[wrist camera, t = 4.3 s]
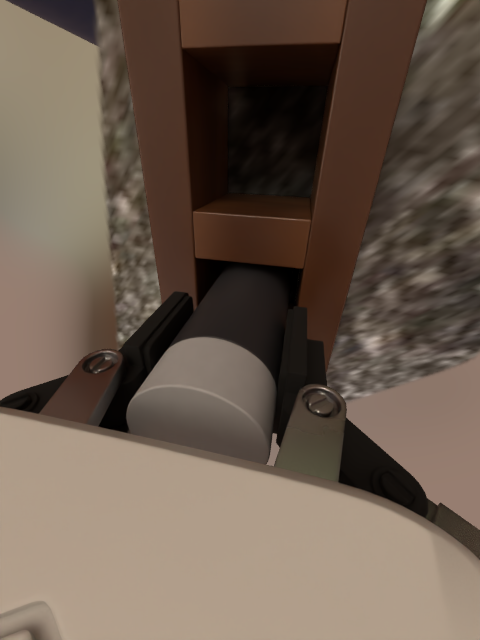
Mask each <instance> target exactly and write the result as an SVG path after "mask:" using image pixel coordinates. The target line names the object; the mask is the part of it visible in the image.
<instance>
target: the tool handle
mask: <svg viewBox="0 0 480 640" xmlns="http://www.w3.org/2000/svg"><path fill="white" fill-rule="evenodd" d="M292 274H293V268H290V267H280V266H270V265H260V264H251V263H241V262H231V261H230V262H229V263H228V264H227V266H226V267H225V269H224V270H223V271H222V273H221V274H220V276H219V277H218V278H217V280H216V281H215V283H214V284H213V285H212V287H211V288H210V290H209V291H208V292H207V294H206V295H205V297H204V298H203V299H202V301H201V302H200V304H199V305H198V306H197V308H196V309H195V311H194V312H193V314H192V315H191V316H190V318H189V319H188V321H187V322H186V323H185V325H184V326H183V328H182V329H181V330H180V332H179V333H178V335H177V336H176V337H175V339H174V340H173V342H172V343H171V344H170V346H169V347H168V349H167V350H166V351H165V353H164V354H163V356H162V357H161V358H160V360H159V361H158V363H157V364H156V366H155V367H154V368H153V370H152V371H151V373H150V374H149V375H148V377H147V378H146V380H145V381H144V382H143V384H142V385H141V387H140V388H139V389H138V391H137V392H136V394H135V395H134V396H133V398H132V399H131V401H130V402H129V405H128V408H127V413H126V419H127V424H128V427H129V430H130V432H131V434H133V435H137V436H142V437H146V438H151V439H155V440H160V441H164V442H169V443H173V444H178V445H182V446H187V447H191V448H195V449H200V450H204V451H209V452H213V453H217V454H222V455H226V456H230V457H235V458H239V459H243V460H248V461H252V462H256V463H261V464H265V465H266V464H267V462H268V459H269V456H270V450H271V442H272V434H273V426H274V418H275V410H276V397H277V389H278V381H279V374H280V366H281V358H282V351H283V343H284V335H285V328H286V321H287V314H288V306H289V298H290V290H291V282H292Z"/></svg>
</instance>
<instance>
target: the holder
mask: <svg viewBox="0 0 480 640" xmlns="http://www.w3.org/2000/svg"><path fill="white" fill-rule="evenodd" d="M117 1H118V7H119V14H120V21H121V28H122V35H123V41H124V48H125V55H126V62H127V69H128V75H129V82H130V89H131V96H132V103H133V109H134V116H135V123H136V130H137V137H138V143H139V150H140V157H141V164H142V171H143V177H144V184H145V191H146V198H147V205H148V211H149V218H150V225H151V232H152V239H153V245H154V252H155V259H156V266H157V273H158V279H159V286H160V293H161V300H162V304H163V303H164V302H165V301H166V300H167V298H168V297H169V296H170V295H171V294H172V293H173V292H174V291H178V292H186V293H188V294H189V296H191V297H192V298H193V308H194V311H195V309H196V308H197V306H198V305H199V304H200V302H201V301H202V299H203V298H204V297H205V295H206V294H207V292H208V291H209V290H210V288H211V287H212V285H213V284H214V283H215V281H216V280H217V278H218V277H219V276H220V274H221V273H222V271H223V270H224V269H225V267H226V266H227V264H228V261H231V262H241V263H251V264H260V265H270V266H280V267H290V268H300V269H299V276H298V282H297V288H296V295H295V301H294V303H289V306H288V309H293V308H294V306H298V307H306V308H307V339H310V340H317V341H323V344H324V356H325V368H326V372H327V368H328V365H329V361H330V357H331V354H332V350H333V346H334V343H335V339H336V335H337V331H338V328H339V324H340V320H341V317H342V313H343V309H344V306H345V302H346V298H347V295H348V291H349V287H350V283H351V280H352V276H353V272H354V269H355V265H356V261H357V258H358V254H359V250H360V246H361V243H362V239H363V235H364V232H365V228H366V224H367V221H368V217H369V213H370V209H371V206H372V202H373V198H374V195H375V191H376V187H377V184H378V180H379V176H380V172H381V169H382V165H383V161H384V158H385V154H386V150H387V147H388V143H389V139H390V135H391V132H392V128H393V124H394V121H395V117H396V113H397V110H398V106H399V102H400V99H401V95H402V91H403V87H404V84H405V80H406V76H407V73H408V69H409V65H410V62H411V58H412V54H413V50H414V47H415V43H416V39H417V36H418V32H419V28H420V25H421V21H422V17H423V13H424V10H425V6H426V2H427V0H117ZM327 85H328V88H327V94H326V101H325V107H324V114H323V120H322V126H321V133H320V139H319V146H318V152H317V159H316V165H315V172H314V178H313V185H312V191H311V198H308V197H291V196H275V195H258V194H241V193H228V86H229V87H243V86H327Z"/></svg>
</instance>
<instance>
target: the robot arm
mask: <svg viewBox="0 0 480 640" xmlns="http://www.w3.org/2000/svg"><path fill="white" fill-rule="evenodd" d="M193 312H194V308H193V298H192V297H191V296H189V294H188V293H186V292H178V291H174V292H173V293H172V294H171V295H170V296H169V297H168V298H167V300H166V301H165V302H164V303H163V304H162V305H161V306H160V307H159V308H158V309H157V310H156V311H155V312H154V313H153V314H152V315H151V316H150V317H149V318H148V319H147V320H146V321H145V323H144V324H143V325H142V326H141V327H140V328H139V329H138V330H137V331H136V332H135V333H134V334H133V335H132V336H131V337H130V338H129V339H128V340H127V341H126V342H125V343H124V346H123V347H122V348H121V349H120V350H119V351H117V350H114V349H102V350H98V351H95V352H92V353H90V354H88V355H87V356H85V357H84V358H83V359H82V360H81V361H79V363H78V364H77V365H76V367H75V368H74V369H73V370H72V372H71V373H70V374H69V375H67V376H64V377H61V378H58V379H55V380H52V381H49V382H46V383H43V384H40V385H37V386H33V387H30V388H27V389H24V390H21V391H18V392H16V393H13V394H11V395H9V396H7V397H5V398H3V399H2V400H0V640H480V530H478V529H477V528H476V527H474V526H473V525H472V524H470V523H469V522H467V521H466V520H464V519H463V518H462V517H460V516H459V515H457V514H456V513H454V512H453V511H452V510H450V509H449V508H447V507H446V506H445V505H443V504H442V503H439V505H438V506H437V505H436V504H434V503H433V502H432V501H430V500H429V499H427V497H426V494H425V492H424V490H423V489H422V487H421V486H420V484H419V483H418V482H417V481H416V479H415V478H414V477H413V476H412V475H411V474H410V473H409V472H407V471H406V470H405V469H404V468H403V467H402V466H401V465H400V464H398V463H397V462H396V461H395V460H394V459H393V458H392V457H390V456H389V455H388V454H387V453H386V452H385V451H384V450H382V449H381V448H380V447H379V446H378V445H377V444H376V443H374V442H373V441H372V440H371V439H370V438H368V436H366V435H365V434H364V433H363V432H362V431H361V430H360V429H358V428H357V427H356V426H355V425H354V424H353V423H351V422H350V421H349V420H348V419H347V418H346V411H347V409H346V403H345V401H344V399H343V397H342V396H341V395H340V394H339V393H338V392H337V391H335V390H334V389H332V388H330V387H327V381H326V368H325V356H324V344H323V341H317V340H310V339H307V308H306V307H298V306H294V308H293V309H288V314H287V321H286V328H285V335H284V343H283V351H282V358H281V366H280V374H279V381H278V389H277V397H276V410H275V418H274V426H273V433H276V434H277V439H276V443H277V444H278V446H279V447H280V449H279V452H278V455H277V458H276V461H275V464H274V466H269V465H265V464H261V463H256V462H252V461H248V460H243V459H239V458H235V457H230V456H226V455H222V454H217V453H213V452H209V451H204V450H200V449H195V448H191V447H187V446H182V445H178V444H173V443H169V442H164V441H160V440H155V439H151V438H146V437H142V436H137V435H133V434H131V432H130V430H129V427H128V424H127V419H126V413H127V408H128V405H129V402H130V401H131V399H132V398H133V396H134V395H135V394H136V392H137V391H138V389H139V388H140V387H141V385H142V384H143V382H144V381H145V380H146V378H147V377H148V375H149V374H150V373H151V371H152V370H153V368H154V367H155V366H156V364H157V363H158V361H159V360H160V358H161V357H162V356H163V354H164V353H165V351H166V350H167V349H168V347H169V346H170V344H171V343H172V342H173V340H174V339H175V337H176V336H177V335H178V333H179V332H180V330H181V329H182V328H183V326H184V325H185V323H186V322H187V321H188V319H189V318H190V316H191V315H192V314H193Z"/></svg>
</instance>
